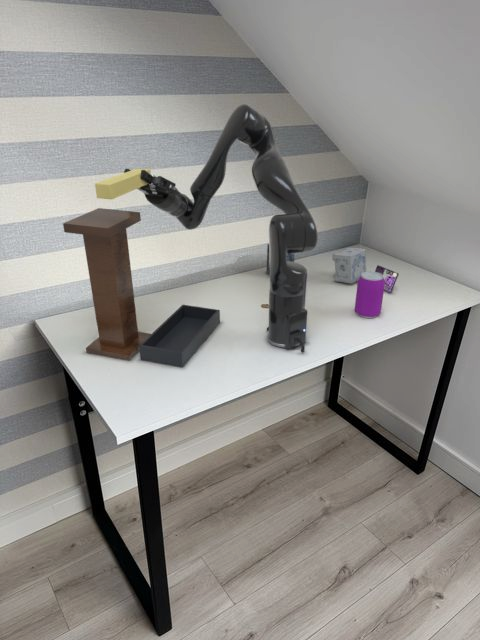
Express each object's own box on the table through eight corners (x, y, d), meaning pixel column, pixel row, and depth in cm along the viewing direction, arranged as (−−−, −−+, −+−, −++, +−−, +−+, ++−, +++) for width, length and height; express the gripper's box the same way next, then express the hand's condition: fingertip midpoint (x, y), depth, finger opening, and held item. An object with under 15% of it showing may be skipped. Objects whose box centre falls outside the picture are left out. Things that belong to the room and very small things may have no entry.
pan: (183, 317, 146) (182, 304, 144) (220, 323, 144) (219, 309, 142) (140, 360, 125) (138, 345, 123) (182, 367, 123) (181, 352, 121)
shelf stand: (114, 330, 139) (96, 207, 122) (154, 337, 136) (142, 212, 120) (84, 354, 127) (60, 223, 111) (127, 362, 124) (109, 228, 108)
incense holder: (345, 273, 180) (348, 244, 174) (366, 279, 175) (369, 249, 170) (329, 280, 173) (332, 251, 168) (350, 287, 168) (354, 256, 163)
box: (275, 278, 174) (276, 248, 169) (266, 273, 178) (266, 243, 173) (293, 274, 178) (295, 244, 173) (284, 269, 182) (285, 239, 177)
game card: (376, 264, 168) (396, 273, 162) (385, 266, 171) (406, 275, 165) (368, 284, 170) (389, 293, 164) (378, 285, 173) (398, 294, 167)
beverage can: (377, 321, 146) (382, 282, 141) (351, 316, 149) (355, 277, 143) (383, 311, 153) (388, 273, 147) (357, 306, 155) (362, 268, 149)
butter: (138, 181, 131) (136, 168, 129) (151, 182, 130) (150, 169, 128) (96, 198, 115) (94, 183, 113) (111, 199, 114) (109, 184, 113)
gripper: (142, 180, 143) (110, 156, 126) (189, 184, 140) (162, 159, 123) (138, 206, 143) (105, 186, 127) (185, 211, 140) (158, 190, 123)
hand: (134, 173), depth 125 cm, fingers closed on butter, 4 cm apart
